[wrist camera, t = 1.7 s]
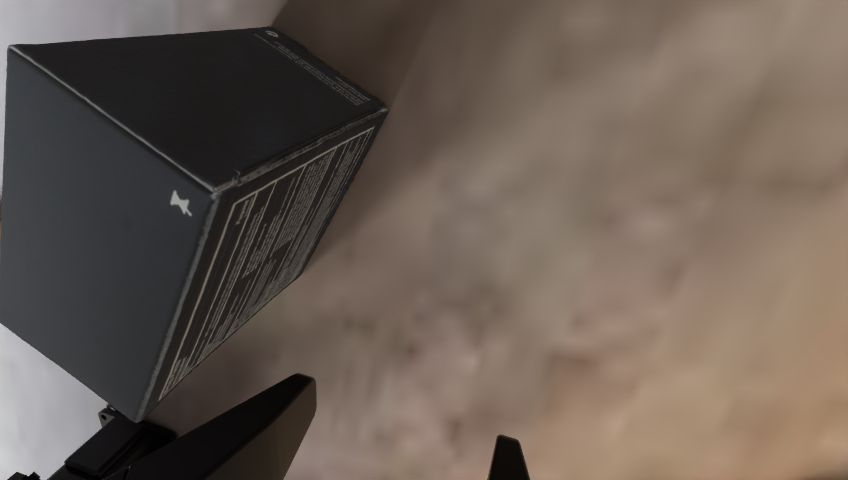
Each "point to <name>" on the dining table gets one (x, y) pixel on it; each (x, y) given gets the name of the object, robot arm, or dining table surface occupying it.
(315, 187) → the small box
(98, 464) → the robot arm
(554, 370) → the dining table surface
